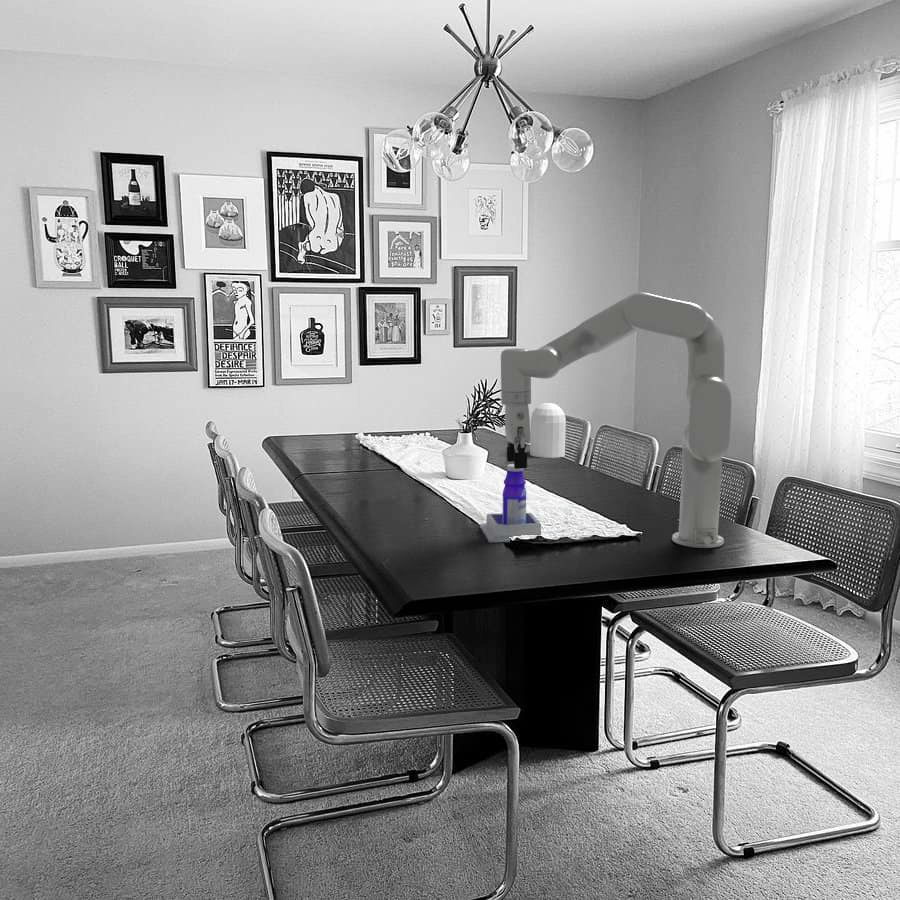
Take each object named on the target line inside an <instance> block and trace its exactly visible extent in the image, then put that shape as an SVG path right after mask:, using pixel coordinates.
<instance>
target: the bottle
mask: <svg viewBox="0 0 900 900" xmlns="http://www.w3.org/2000/svg"><path fill="white" fill-rule="evenodd" d="M526 483H527V481H526V480H525V477H524V468H520V469H515V468H514V463H510V464H507V465H506V475H505V479H504V480H503V484H504V487H503V490H502V513H503V516H502V524H526V513H527V489H526V486H525V485H526Z"/></svg>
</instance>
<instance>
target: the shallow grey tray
mask: <svg viewBox="0 0 900 900" xmlns="http://www.w3.org/2000/svg"><path fill="white" fill-rule="evenodd" d="M502 516H503V512H501V513H486V522H485V524H484V523H480V524H479V528H480V529H481V531H482V533H483V535H484V536H485V538H486V540H487V542H488V543H511V542H510V539H511V538H509V537H513V536H521V535H541V530H542V523H541V522H540V521H539V520H538V519H537V518H536V516H535V515H534V514H533V513H532V512H526V524H502Z"/></svg>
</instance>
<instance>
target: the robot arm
mask: <svg viewBox="0 0 900 900" xmlns="http://www.w3.org/2000/svg"><path fill="white" fill-rule="evenodd" d="M640 330H643V331H646V332H651V333H656V334H660V335H665V336H670V337H674V338H678V339H682V340H684V341H685V343H686V346H687V349H688V350H687V351H688V353H687V354H688V357H687V358H688V360H687V361H688V369H687V370H688V371H687V374H688V375H687V385H686V386H687V387H686V395H685V396H686V401H687V402H688V404H689V421H688V423H687V424H686V425H685V427H684V429H683V433H682V438H681V439H682V440H681V441H682V443H681V448H682V451H681V452H682V453H681V454H682V455H681V456H682V460H681V461H682V463H681V465H682V467H681V480H680V481H681V482H680V483H681V484H680V497H679V498H680V499H679V501H680V502H679V520H678V522H679V523H678V532H675V533H673V534H671V535H672V537H671V540H672V541H673V543H675V544H678V545H680V546H683V547H689V548H698V549H711V548H712V549H713V548H718V547H719V548H720V547H721V546H723V545H724V543H725V539H724V538H723V537H722V536H721V535H719V534H718V533H719V519H720V516H719V515H720V502H721V488H722V487H721V484H722V472H723V471H722V469H723V467H722V465H723V463H722V462H723V461H722V459H723V456H725V455H726V453H727V451H728V450H729V449H728V448H729V445H730V438H731V424H732V423H731V422H732V394H731V390H730V388H729V386H728V384H727V383H726V382H725V343H724V337H723V333H722V331H721V329H720V327H719V325H718V323H717V322H716V321H715V319H714V318H713V317H712V316H711V315H710V314H709V313H708V312H706V311H705V309H704V308H703V307H702V306H700V305H699V304H696V303H693V302H688V301H682V300H678V299H677V300H676V299H672V298H668V297H664V296H663V297H662V296H660V295H657V294H656V295H655V294H651V293H648V292H643V291H637V292H634V293H631V294H629V295H628V296H626V297H624V298H622V299H621V300H619V301H617V302H616V303H614V304H612V305H610V306H609V307H607V308H605V309H604V310H602V311H600V312H598V313H597V314H594V315H593V316H591V317H589V318H587V319H586V320H584V321H583V322H581V323H580V324H578V325H577V326H576V327H575V328H573V329H571V330H569V331H567V332H565V333H564V334H562V335H560V336H558V337H557V338H555V339H553V340H552V341H550V342H548V343H546V344H545V345H543V346H541V347H539V348H538V349H531V350H529V349H527V348H507V349H503V350H502V351H501V354H500V395H501V397H500V401H501V403H500V404H501V405H503V406H504V407H505V408H504V411H505V414H504V427H505V430H504V431H505V433H504V434H505V439H506V440H507V441H506V460H507V462H509V463H511V462H513V464H514V468H515V469H520V468H523V469H527V468H528V449H527V444H530V442H531V436H530V430H531V418H530V417H531V416H530V410H529V409H530V408H529V405H531V404H532V378H536V379H545V380H547V379H551V378H554V377H555V376H556V375H557V374H559V372H560V371H561V370H562V369H565V368H566V367H568V366H570V365H571V364H573V363H574V362H577V361H578V360H581V359H583V358H584V357H587V356H588V355H592V354H597V353H599V352H601V351H604V350H606V349H608V348H610V347H612V346H613V345H614V344H616V343H618V342H620V341H622V340H624V339H625V338H627V337H629V336H630V335H632V334H634V333H636V332H638V331H640Z"/></svg>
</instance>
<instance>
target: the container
mask: <svg viewBox="0 0 900 900" xmlns="http://www.w3.org/2000/svg"><path fill="white" fill-rule="evenodd" d="M530 417H531V418H530V436H531V442H530V443H529V454H530V456H532V457H536V458H547V459H549V458H551V459H552V458H553V459H554V458H562V457H565V455H566V428H567V427H566V425H567V424H566V423H567V419H566V414H565V412H564V410H563V409H562V407H560V406H559V405H557V404H556V403H553V402H552V403H551V402H544V403H543V402H542V403H541V404H539V405H538V406H536V407H535V408H534V409H533V411H532V412H531V416H530Z"/></svg>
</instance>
